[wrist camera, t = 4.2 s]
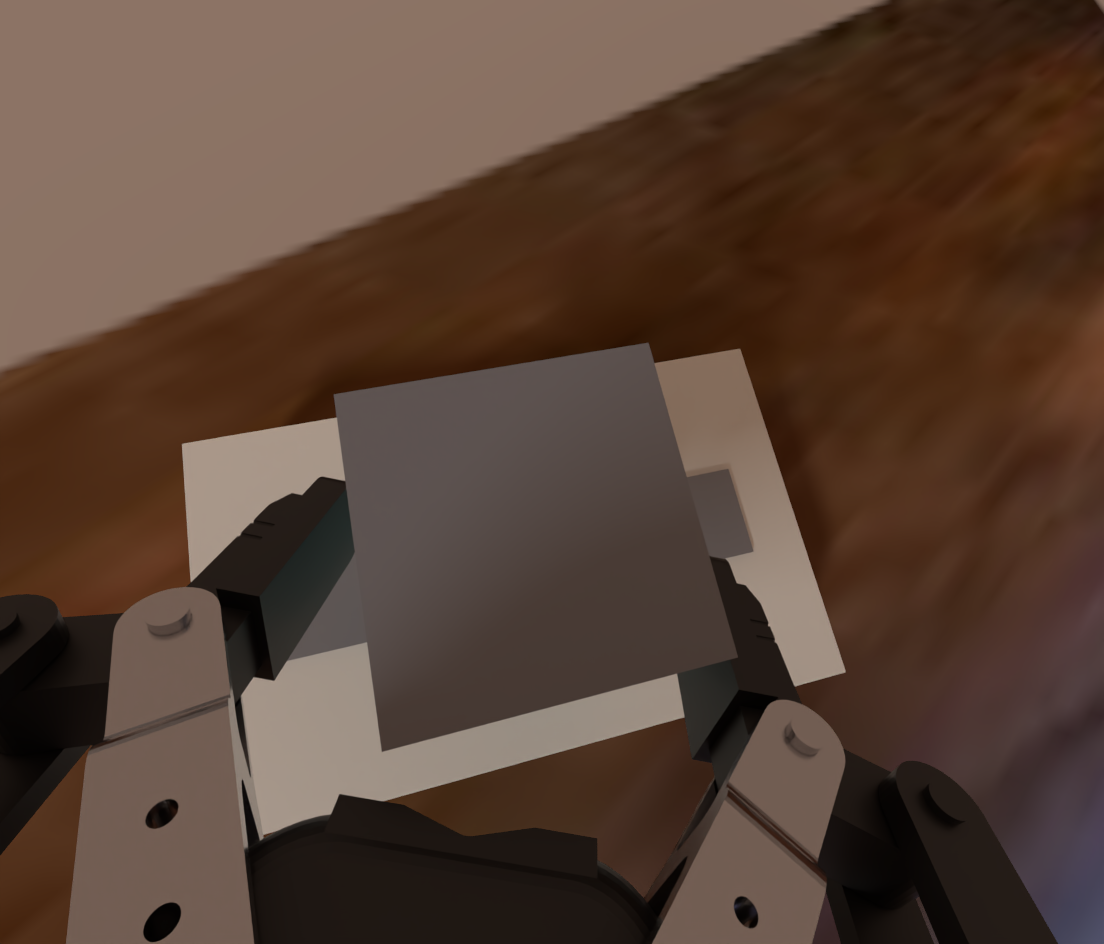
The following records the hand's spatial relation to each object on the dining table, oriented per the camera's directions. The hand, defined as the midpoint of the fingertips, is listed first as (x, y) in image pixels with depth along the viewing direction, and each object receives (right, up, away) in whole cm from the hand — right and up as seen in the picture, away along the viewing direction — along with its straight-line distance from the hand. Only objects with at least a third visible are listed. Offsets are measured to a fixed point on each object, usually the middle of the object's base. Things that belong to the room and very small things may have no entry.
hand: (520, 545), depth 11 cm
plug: (-1, -2, +8) cm, 9 cm away
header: (-1, -2, +8) cm, 9 cm away
